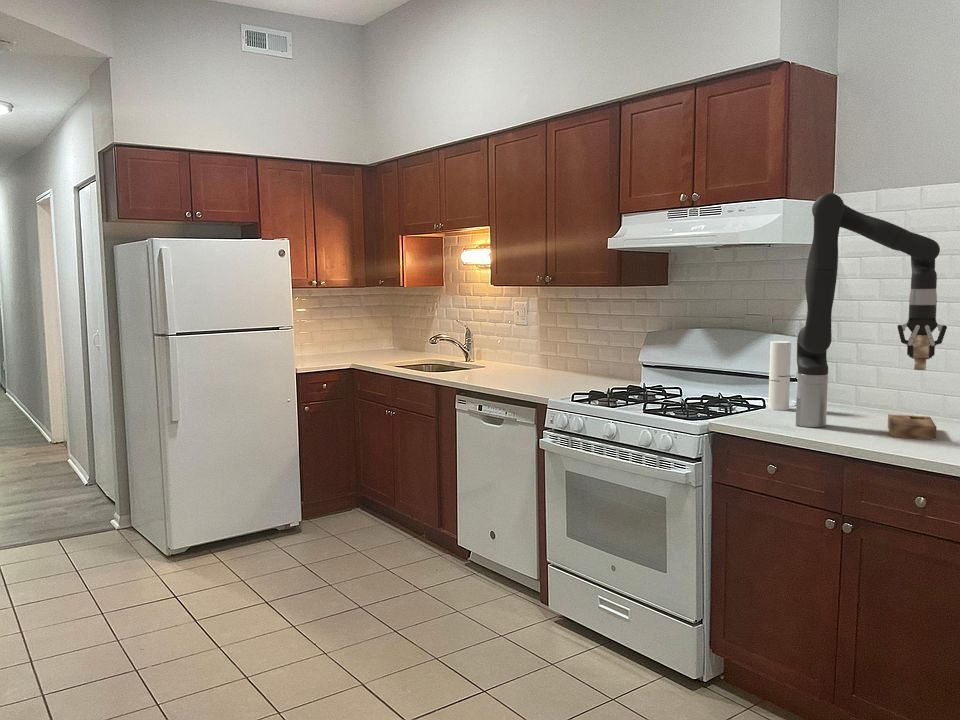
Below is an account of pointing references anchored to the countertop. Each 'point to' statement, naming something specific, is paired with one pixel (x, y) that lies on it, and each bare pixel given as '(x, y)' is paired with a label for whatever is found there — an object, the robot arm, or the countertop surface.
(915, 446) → the countertop surface
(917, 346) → the peg
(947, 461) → the countertop surface
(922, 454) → the countertop surface
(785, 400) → the cylindrical container
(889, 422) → the board
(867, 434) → the countertop surface
